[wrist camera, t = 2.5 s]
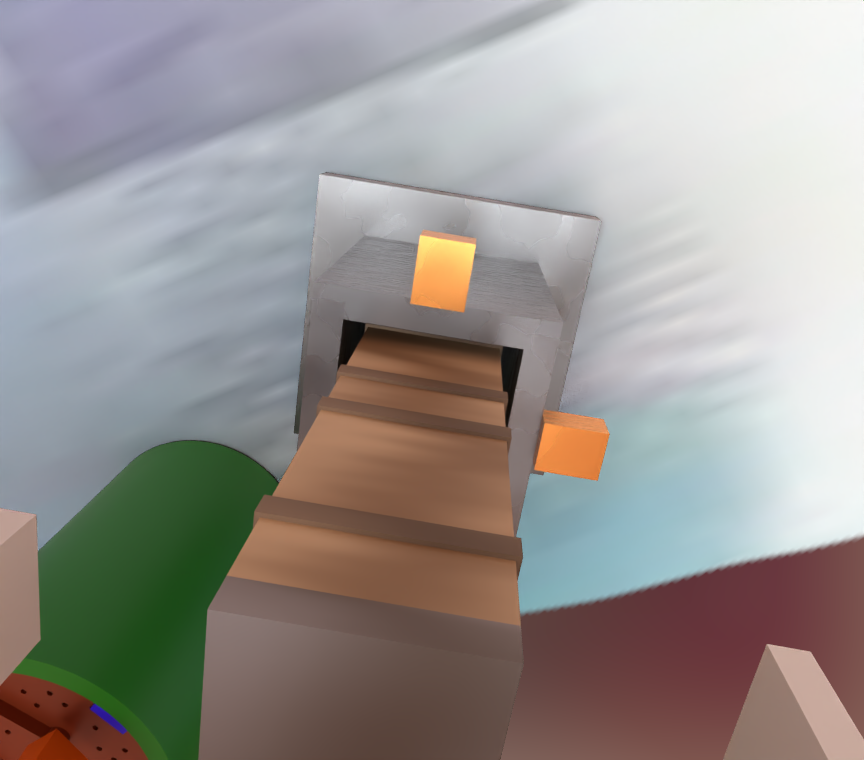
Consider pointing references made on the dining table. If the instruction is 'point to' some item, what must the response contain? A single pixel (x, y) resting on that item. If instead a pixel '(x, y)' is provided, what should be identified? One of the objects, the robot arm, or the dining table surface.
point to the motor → (132, 610)
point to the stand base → (457, 302)
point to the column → (378, 573)
